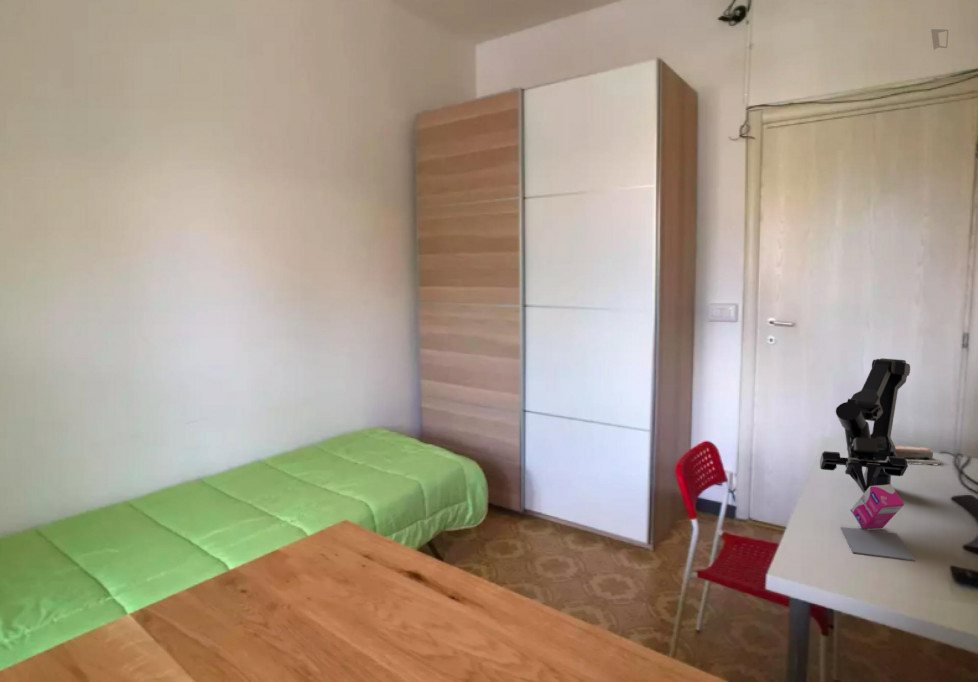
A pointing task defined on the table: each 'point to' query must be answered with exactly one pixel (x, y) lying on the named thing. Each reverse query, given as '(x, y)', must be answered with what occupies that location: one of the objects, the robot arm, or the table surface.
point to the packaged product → (916, 454)
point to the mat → (876, 543)
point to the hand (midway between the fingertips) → (866, 493)
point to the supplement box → (877, 506)
